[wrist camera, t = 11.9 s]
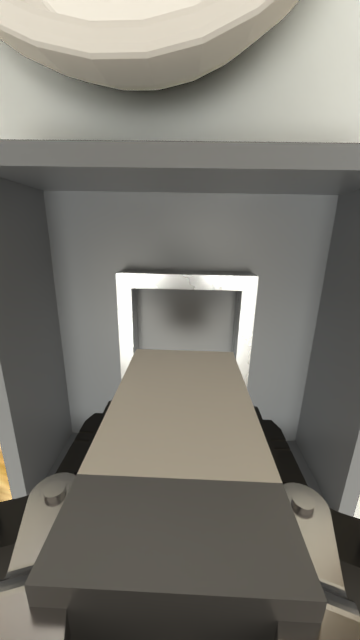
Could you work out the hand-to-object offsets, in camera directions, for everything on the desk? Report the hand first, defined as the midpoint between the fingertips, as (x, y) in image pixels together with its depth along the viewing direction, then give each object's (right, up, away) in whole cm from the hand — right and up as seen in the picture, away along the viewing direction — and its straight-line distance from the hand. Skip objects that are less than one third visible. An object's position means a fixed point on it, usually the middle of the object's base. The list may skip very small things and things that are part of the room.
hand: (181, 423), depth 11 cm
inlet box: (0, +4, +11) cm, 12 cm away
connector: (0, +1, +2) cm, 2 cm away
